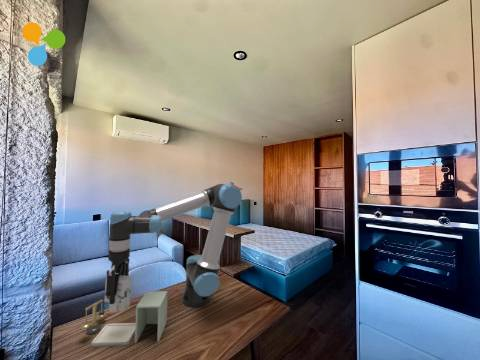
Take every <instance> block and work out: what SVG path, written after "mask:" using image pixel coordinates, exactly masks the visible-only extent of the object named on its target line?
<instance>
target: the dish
mask: <svg viewBox="0 0 480 360" xmlns="http://www.w3.org/2000/svg"><path fill="white" fill-rule="evenodd" d="M134 336H135V322H129V323H128V322H126V323H124V322H123V323H122V322H121V323H120V322H119V323H106V324H105V325H104V326H103V328H101V329H100V332H99V333H98V334H97V335H96V336H95V338H94V339H93V340H92V341H91V342H90V347H91V348H92V347H112V346H113V347H114V346H128V345H129V344H130V343H131V341H132V339H133V337H134Z"/></svg>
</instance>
